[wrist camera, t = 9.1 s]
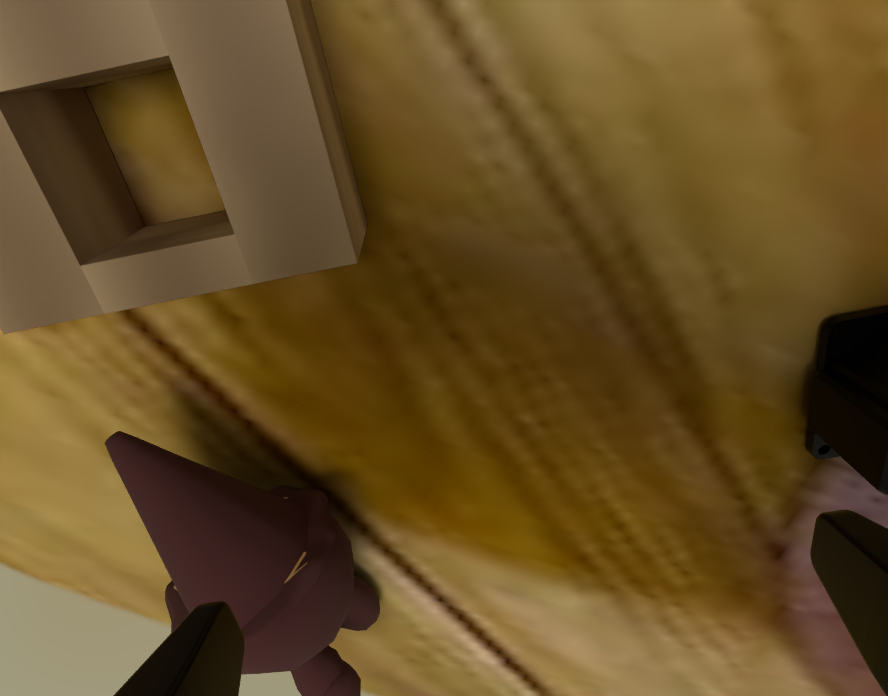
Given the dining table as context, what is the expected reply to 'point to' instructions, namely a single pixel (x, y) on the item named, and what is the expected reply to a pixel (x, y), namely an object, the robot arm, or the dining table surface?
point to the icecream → (252, 562)
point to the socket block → (222, 137)
